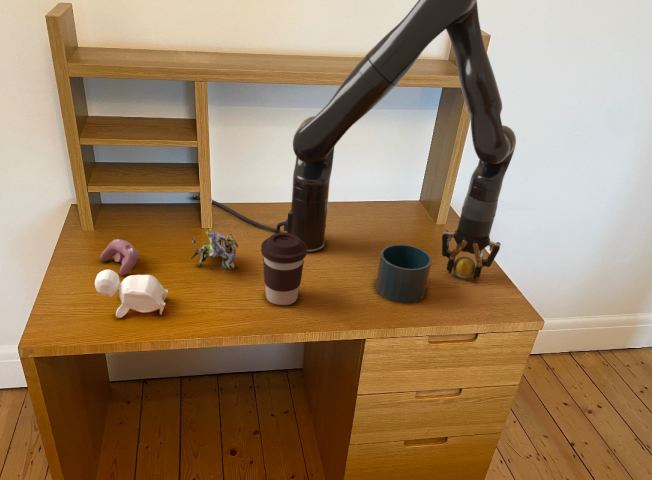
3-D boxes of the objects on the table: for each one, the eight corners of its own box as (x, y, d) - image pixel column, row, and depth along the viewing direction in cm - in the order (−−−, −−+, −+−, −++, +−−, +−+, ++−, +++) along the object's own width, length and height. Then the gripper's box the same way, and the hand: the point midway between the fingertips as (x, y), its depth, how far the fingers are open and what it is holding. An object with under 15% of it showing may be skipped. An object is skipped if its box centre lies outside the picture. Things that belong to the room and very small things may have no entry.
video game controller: (135, 277, 139) (145, 250, 138) (119, 276, 136) (129, 248, 134) (113, 261, 145) (121, 235, 143) (97, 260, 141) (105, 233, 140)
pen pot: (370, 295, 137) (375, 262, 132) (383, 271, 146) (388, 240, 141) (418, 308, 134) (425, 274, 129) (428, 283, 143) (435, 251, 138)
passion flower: (230, 286, 146) (240, 267, 135) (186, 280, 143) (193, 261, 132) (232, 245, 150) (242, 224, 140) (190, 239, 147) (196, 217, 137)
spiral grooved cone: (478, 277, 147) (479, 267, 137) (457, 284, 148) (457, 274, 138) (470, 257, 148) (471, 246, 139) (450, 264, 149) (449, 254, 140)
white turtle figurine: (160, 306, 133) (94, 285, 128) (172, 277, 129) (104, 254, 124) (156, 329, 126) (85, 308, 121) (168, 299, 122) (95, 276, 117)
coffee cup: (287, 315, 128) (291, 256, 120) (251, 299, 132) (252, 241, 124) (311, 294, 135) (316, 237, 127) (275, 280, 139) (278, 224, 131)
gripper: (511, 213, 137) (493, 275, 146) (450, 200, 141) (436, 260, 150) (508, 226, 131) (489, 289, 140) (444, 212, 135) (430, 274, 144)
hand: (462, 274), depth 145 cm, fingers closed on spiral grooved cone, 5 cm apart
